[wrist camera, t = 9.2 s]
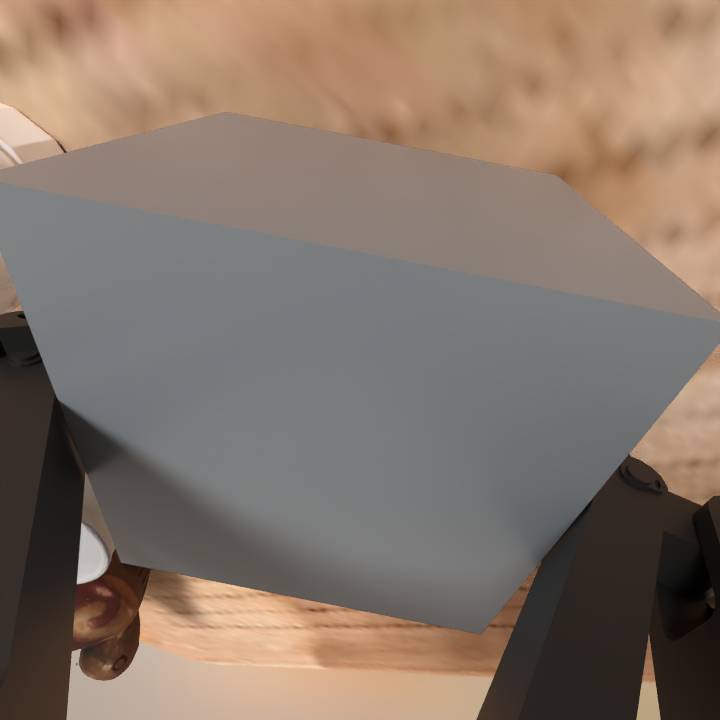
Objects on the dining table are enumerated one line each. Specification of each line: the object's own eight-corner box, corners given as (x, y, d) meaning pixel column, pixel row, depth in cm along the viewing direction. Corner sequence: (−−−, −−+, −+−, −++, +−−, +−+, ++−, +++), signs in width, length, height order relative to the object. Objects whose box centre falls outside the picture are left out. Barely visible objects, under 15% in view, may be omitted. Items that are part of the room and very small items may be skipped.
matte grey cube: (556, 175, 12) (735, 325, 5) (458, 415, 19) (480, 634, 11) (225, 111, 13) (-30, 176, 5) (235, 371, 19) (121, 562, 12)
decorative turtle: (143, 594, 40) (80, 694, 33) (8, 495, 34) (-99, 593, 28) (208, 583, 35) (151, 696, 29) (66, 468, 30) (-45, 577, 23)
